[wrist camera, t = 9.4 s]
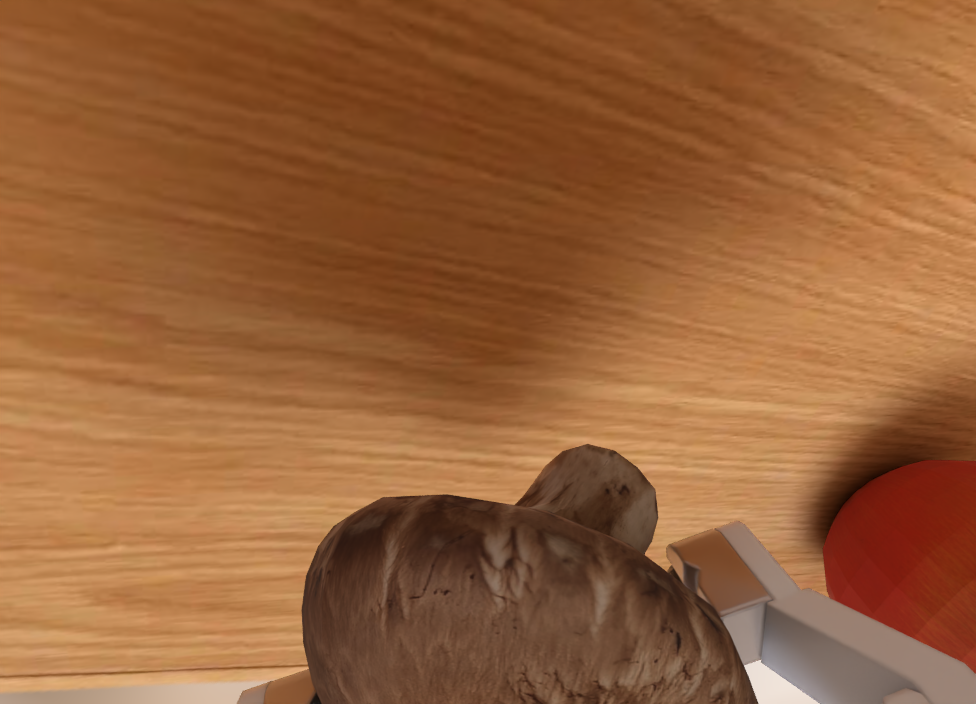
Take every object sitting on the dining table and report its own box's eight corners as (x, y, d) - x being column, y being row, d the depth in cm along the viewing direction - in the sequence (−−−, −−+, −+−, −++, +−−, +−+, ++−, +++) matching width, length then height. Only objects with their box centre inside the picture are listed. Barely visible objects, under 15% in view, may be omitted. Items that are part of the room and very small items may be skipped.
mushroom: (850, 430, 8) (935, 1067, 4) (686, 579, 14) (662, 891, 10) (374, 308, 9) (123, 704, 6) (414, 492, 16) (308, 739, 12)
